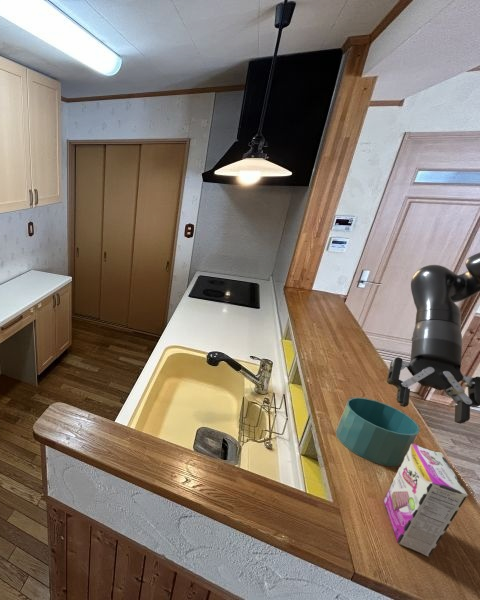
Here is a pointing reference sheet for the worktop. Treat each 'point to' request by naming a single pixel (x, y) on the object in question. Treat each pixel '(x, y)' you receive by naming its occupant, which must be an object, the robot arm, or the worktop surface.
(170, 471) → the worktop surface
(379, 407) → the bucket
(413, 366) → the robot arm
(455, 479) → the candy bar box
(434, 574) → the worktop surface
